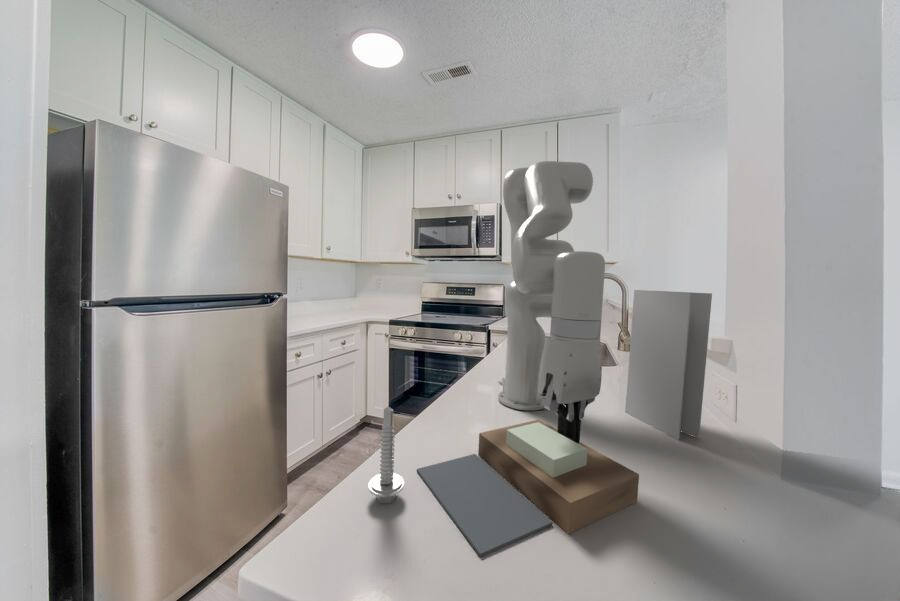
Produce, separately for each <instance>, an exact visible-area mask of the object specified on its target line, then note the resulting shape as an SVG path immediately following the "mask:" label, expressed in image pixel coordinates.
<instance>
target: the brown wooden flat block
mask: <svg viewBox="0 0 900 601" xmlns="http://www.w3.org/2000/svg"><path fill="white" fill-rule="evenodd" d="M537 422H539V423H541V424H543V425H545V426H546V427H548V428H550V429H552V430H554V431H556V432H557V431H558V428H555V427H553V426H552V425H550V424H548V423H546V422H544V421H542V420H541V419H536V420H531V421H527V422H523V423H517V424H514V425H508V426H504V427H499V428H495V429H491V430H486V431H482V432H479V433H478V450H477V452H478V453H477V456H478V457H479V458H480V459H481V460H483V461H484V462H485V463H486V464H487V465H488V466H489V467H492V469H493V470H494V471H495V472H496V473H497V474H498V475H500V476H501V477H502V478H503V479H504V480H505V481H506V482H507V483H509V484H510V485H511V486H512V487H513V488H514V489H515V490H516V491H518V492H519V493H520V494H521V495H522V496H523V497H524V498H526V499H527V500H528V501H529V502H530V503H531V504H532V505H533V506H535V507H536V508H537V509H538V510H539V511H540V512H541V513H543V514H544V515H545V516H546V517H547V518H548V519H549V520H550V519H551V521H553V523H554V524H556V525H557V526H558V527H559V528H561V530H563V531H564V532H565V533H566V534H567V535H570V534H572V533H574V532H576V531H578V530H580V529H583V528H585V527H587V526H588V525H591V524H593V523H595V522H597V521H600V520H601V519H604V518H606V517H607V516H609V515H612V514H614V513H616V512H618V511H620V510H622V509H624V508H626V507H628V506H630V505H633V504H635V503H637V502H638V498H639V497H638V496H639V483H640V482H639V481H640V474H639V473H638V472H635V471H634V470H632V469H630V468H628V467H627V466H625V465H623V464H621V463H620V462H617V461H616V460H614V459H612V458H611V457H608V456H606V455H605V454H603V453H601V452H599V451H597V450H595V449H593V448H591V446H588V445H586V444H584V443H582V441H581V442H579V443H578V444H580V445H581V446H583V447H585V448H587V464H586V465H585V466H583V467H580V468H577V469H575V470H572V471H569V472H567V473H564V474H561V475H558V476H556V477H551V476H550V475H548V474H547V473H546V472H544V471H543V470H541V469H540V468H539V467H537V466H536V465H534V464H533V463H531V462H530V461H529V460H527V459H526V458H524V457H523V456H522V455H520V454H519V453H517V452H516V451H514V450H513V449H512V448H510V447H509V446H507V445H506V437H507V430H508V429H512V428H516V427H520V426H524V425H529V424H533V423H537Z"/></svg>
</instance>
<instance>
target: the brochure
mask: <svg viewBox="0 0 900 601" xmlns="http://www.w3.org/2000/svg"><path fill="white" fill-rule="evenodd" d="M633 290H634V291H633V299H632V300H633V301H632V302H633V303H632V316H631V317H632V318H631V328H630V342H629V343H630V344H629V356H628V357H629V358H628V366H627V367H628V368H627V369H628V371H627V383H626V398H625V408H624V409H625V410H624V412H625V413H626V414H628V415H630V416H632V417H634V418H635V419H636V420H639V421H641V422H643V423H645V424H646V425H649V426H650V425H651V427H652V426H653V428H654V427H655V429H656V428H657V429H656V430H658V431H660V432H662V433H664V434H665V435H667V434H668V436H669V435H670V437H671V436H672V438H673V439H675V440H677V441H679V440H680V435H681V433H682V432H684V433H683V434H685V433H687V434H686V435H688V434H690V435H689V436H691V435H693V436H692V437H694V436H695V437H694V438H697V437H699V438H700V434H701V421H702V410H703V400H704V388H705V378H706V366H707V365H706V364H707V357H708V356H707V355H708V345H709V343H708V342H709V333H710V331H709V330H710V321H711V320H710V319H711V308H712V298H713V293H711V292H710V293H709V292H693V291H692V292H687V291H666V290H665V291H664V290H643V289H641V290H640V289H633ZM680 431H682V432H680Z"/></svg>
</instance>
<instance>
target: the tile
mask: <svg viewBox="0 0 900 601" xmlns="http://www.w3.org/2000/svg"><path fill="white" fill-rule="evenodd" d="M506 445H507V446H509V447H510V448H512V449H513V450H514V451H516V452H517V453H519V454H520V455H522V456H523V457H524V458H526V459H527V460H529V461H530V462H531V463H533V464H534V465H536V466H537V467H539V468H540V469H541V470H543V471H544V472H546V473H547V474H548V475H550V476H551V477H556V476H558V475H561V474H564V473H567V472H569V471H572V470H575V469H577V468H580V467H583V466H585V465H586V464H587V448H585V447H583V446H581V445H580V444H578V443H576V442H574V441H572V440H570V439H569V438H567V437H565V436H563V435H561V434H559V433H557V432H556V431H554V430H552V429H550V428H548V427H546V426H545V425H543V424H541V423H539V422H537V423H533V424H529V425H524V426H520V427H516V428H512V429H508V430H507V437H506Z"/></svg>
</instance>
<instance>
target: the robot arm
mask: <svg viewBox="0 0 900 601" xmlns="http://www.w3.org/2000/svg"><path fill="white" fill-rule="evenodd" d="M593 183H594V177H593V173H592V170H591V168H590V167H589V165H587V164H585V163H583V162H577V161H576V162H575V161H559V160H558V161H555V160H554V161H553V160H545V161H544V160H542V161H539V162H536V163H533V164H532V165H531V166H529V167H519V168H514V169H512V170H510V171H508V172H507V173H506V174H505V176H504V180H503V185H502V186H503V187H502V197H503V198H502V199H503V204H504V208H505V212H506V214H507V218H508V221H509V225H510V259H511V268H512V278H513V280H512V281H511V282H510V283H509V284H508V285H507V286H506V290H505V303H506V304H505V305H506V312H507V313H506V315H507V336H506V338H507V339H506V354H505V355H506V358H505V374H504V375H505V376H504V377H502V379H499V380H498V382H497V383H498V385H500V386H502V391H500V392H499V393H498V396H497V400H498V401H499V402H500V404H502V405H504V406H506V407H509V408H511V409H515V410H520V411H539V410H543V409H546V410H548V411H550V412H555V415H556V416H558V417H557V418H558V419H557V430H558V431H557V433H559V434H561V435H563V436H565V437H567V438H569V439H570V440H572V441H574V442H576V443H579V442H580V438H581V427H582V419H584V417H585V412H586V408H587V407H588V405H590V404H592V403H594V402H595V401H596V397H598V396H599V395H600V392H601V385H602V377H603V376H602V374H603V373H602V371H603V370H602V369H603V365H602V364H603V362H602V360H603V359H602V344H601V334H602V333H601V331H602V329H601V328H602V319H603V318H602V316H603V300H604V286H605V271H606V270H605V268H606V263H605V262H606V260H605V258H604V256H603V255H602V254H601V253H598V252H594V251H582V250H581V251H580V250H579V251H576V250H574V246H572V244H571V243H570V242H568V241H566V240H562V239H547V238H548V237H552V236H554V235H555V234H556V235H557V234H558V233H560V232H562V231H563V230H565V229H566V228H567V227H568V226H569V225H570V223H571V222H572V219H573V209H572V205H571V204H581V203H583V202H585V201H586V200H587V199H588V198H589V196H590V195H591V193H592V190H593ZM537 318H550V331H549V332H550V333H549V336H547V337H546V334H545V331H544V330H545V329H544V328H543V327H542V326H541V325H540V323H539V322H538V320H537Z"/></svg>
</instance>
